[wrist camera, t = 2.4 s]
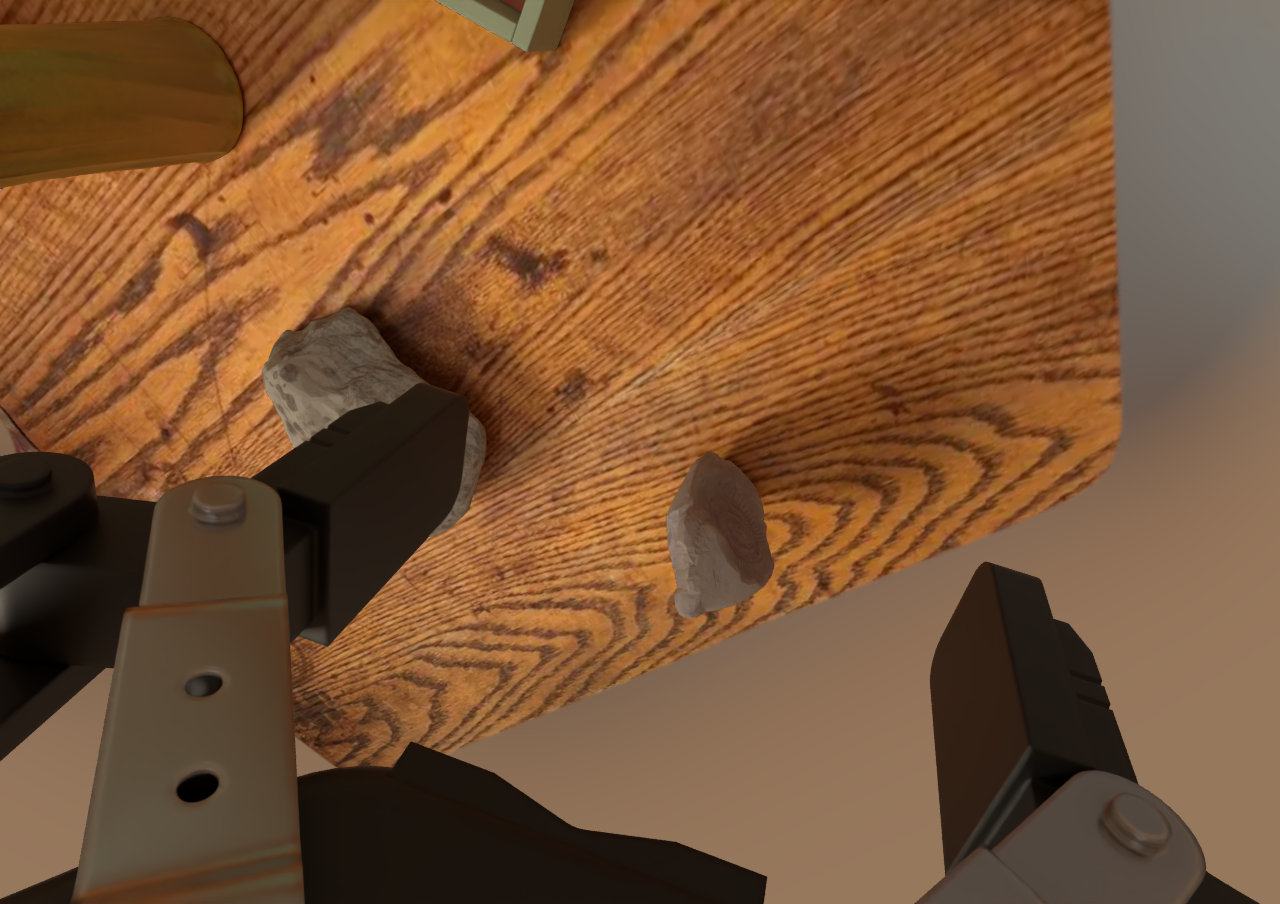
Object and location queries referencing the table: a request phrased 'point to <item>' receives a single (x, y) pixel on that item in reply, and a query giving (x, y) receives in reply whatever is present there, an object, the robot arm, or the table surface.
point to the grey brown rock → (717, 538)
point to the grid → (518, 20)
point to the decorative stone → (350, 386)
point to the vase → (112, 98)
